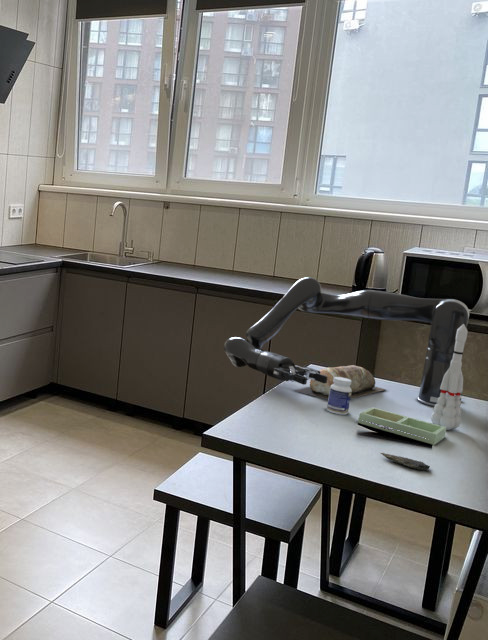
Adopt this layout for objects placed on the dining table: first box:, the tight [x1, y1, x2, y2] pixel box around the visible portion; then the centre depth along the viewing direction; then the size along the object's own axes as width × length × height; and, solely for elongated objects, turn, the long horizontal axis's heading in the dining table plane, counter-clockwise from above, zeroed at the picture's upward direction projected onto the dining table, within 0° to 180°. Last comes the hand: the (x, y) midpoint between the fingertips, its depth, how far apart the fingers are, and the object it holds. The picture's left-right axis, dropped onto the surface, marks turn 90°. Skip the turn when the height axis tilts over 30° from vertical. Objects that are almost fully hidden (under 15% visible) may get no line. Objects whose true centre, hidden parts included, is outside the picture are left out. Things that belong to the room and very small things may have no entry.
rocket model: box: [430, 324, 469, 431], centre depth 207 cm, size 7×7×30 cm
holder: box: [357, 406, 447, 446], centre depth 203 cm, size 10×19×3 cm, turn 45°
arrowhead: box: [380, 452, 431, 471], centre depth 176 cm, size 7×10×1 cm
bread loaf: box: [296, 364, 386, 400], centre depth 239 cm, size 35×18×9 cm, turn 136°
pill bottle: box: [326, 377, 352, 416], centre depth 214 cm, size 6×6×10 cm
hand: (316, 380), depth 222 cm, fingers open, 8 cm apart
